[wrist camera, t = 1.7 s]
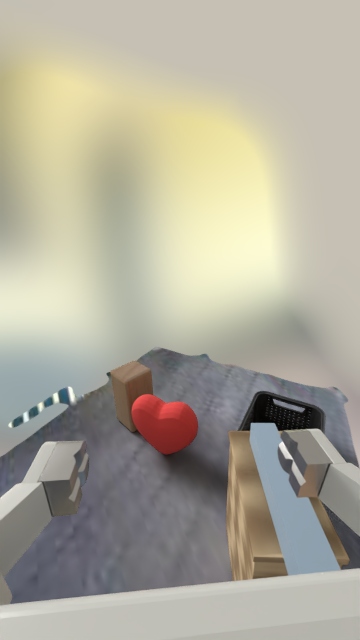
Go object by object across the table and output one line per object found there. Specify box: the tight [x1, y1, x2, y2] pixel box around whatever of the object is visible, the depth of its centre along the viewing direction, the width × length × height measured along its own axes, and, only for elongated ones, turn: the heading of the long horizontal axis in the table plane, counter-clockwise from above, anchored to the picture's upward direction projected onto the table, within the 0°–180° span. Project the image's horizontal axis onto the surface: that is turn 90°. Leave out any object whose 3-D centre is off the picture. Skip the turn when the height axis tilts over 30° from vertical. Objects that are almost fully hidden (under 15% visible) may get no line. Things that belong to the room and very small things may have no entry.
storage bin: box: [237, 391, 326, 435], centre depth 64 cm, size 29×19×13 cm
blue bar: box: [249, 423, 341, 575], centre depth 29 cm, size 26×4×4 cm, turn 178°
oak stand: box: [226, 431, 350, 581], centre depth 40 cm, size 19×11×26 cm, turn 178°
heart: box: [132, 394, 198, 455], centre depth 68 cm, size 20×9×19 cm, turn 67°
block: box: [111, 361, 153, 432], centre depth 81 cm, size 10×10×20 cm
